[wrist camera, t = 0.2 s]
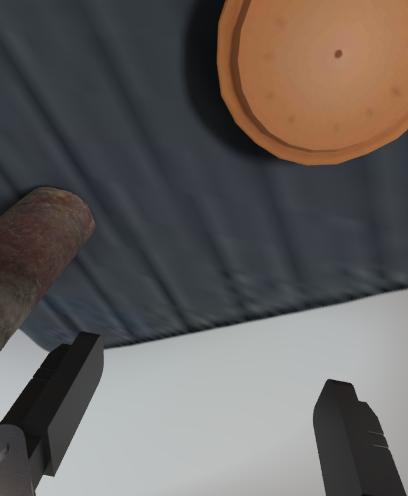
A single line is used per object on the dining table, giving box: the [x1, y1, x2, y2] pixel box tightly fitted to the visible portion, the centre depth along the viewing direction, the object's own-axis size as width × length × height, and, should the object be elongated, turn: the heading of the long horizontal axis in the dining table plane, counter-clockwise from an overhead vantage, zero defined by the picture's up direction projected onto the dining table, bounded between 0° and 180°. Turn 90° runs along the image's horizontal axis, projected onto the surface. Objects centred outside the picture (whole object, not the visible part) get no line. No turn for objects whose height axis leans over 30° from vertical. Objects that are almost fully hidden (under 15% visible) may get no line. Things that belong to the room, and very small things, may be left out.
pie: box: [217, 0, 408, 165], centre depth 23 cm, size 15×16×5 cm
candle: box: [0, 187, 95, 351], centre depth 29 cm, size 8×7×20 cm
